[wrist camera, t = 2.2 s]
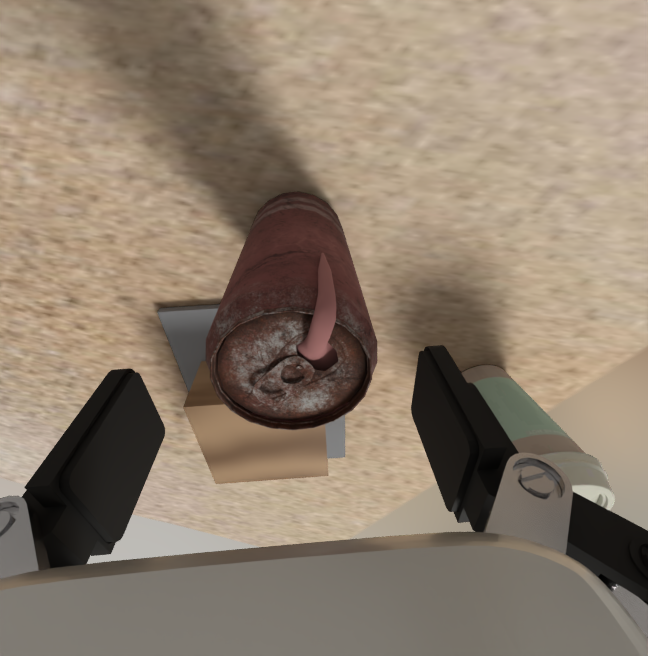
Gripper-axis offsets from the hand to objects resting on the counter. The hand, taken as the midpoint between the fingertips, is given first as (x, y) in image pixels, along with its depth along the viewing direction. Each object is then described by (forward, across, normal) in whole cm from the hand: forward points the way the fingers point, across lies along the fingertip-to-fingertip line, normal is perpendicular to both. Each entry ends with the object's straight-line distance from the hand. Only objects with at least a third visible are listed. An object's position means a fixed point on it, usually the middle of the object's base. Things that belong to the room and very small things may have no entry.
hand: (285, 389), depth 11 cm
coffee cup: (+14, -16, +15) cm, 27 cm away
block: (+14, +4, +14) cm, 20 cm away
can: (+14, 0, -1) cm, 14 cm away
